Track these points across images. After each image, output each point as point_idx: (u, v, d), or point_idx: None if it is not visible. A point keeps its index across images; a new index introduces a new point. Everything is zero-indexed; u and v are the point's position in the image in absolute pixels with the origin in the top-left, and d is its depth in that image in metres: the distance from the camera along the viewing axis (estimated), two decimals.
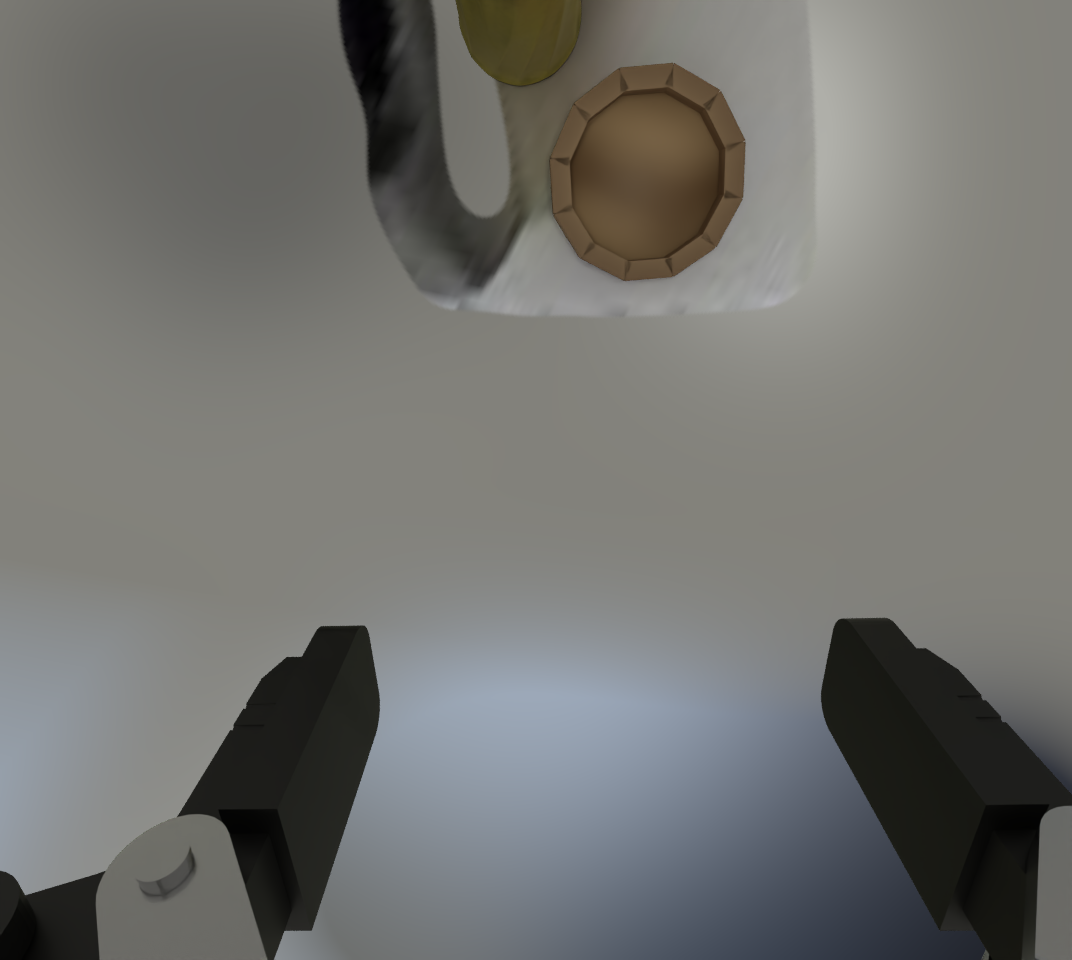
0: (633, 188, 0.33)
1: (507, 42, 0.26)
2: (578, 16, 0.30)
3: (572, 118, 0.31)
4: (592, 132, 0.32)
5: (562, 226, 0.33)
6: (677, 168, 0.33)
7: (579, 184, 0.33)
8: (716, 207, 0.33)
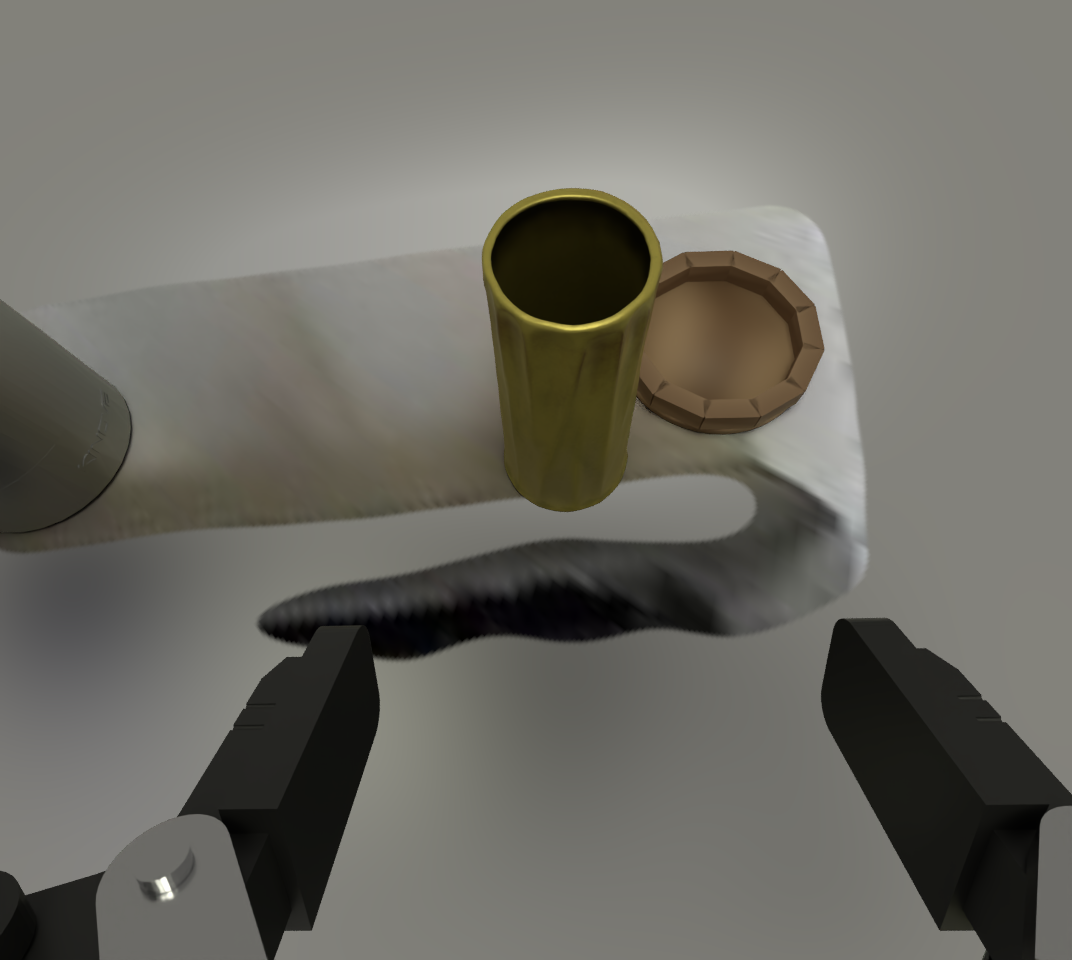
0: (722, 352, 0.32)
1: (634, 404, 0.25)
2: None
3: (666, 395, 0.30)
4: None
5: (772, 408, 0.29)
6: (702, 314, 0.33)
7: None
8: (743, 272, 0.32)
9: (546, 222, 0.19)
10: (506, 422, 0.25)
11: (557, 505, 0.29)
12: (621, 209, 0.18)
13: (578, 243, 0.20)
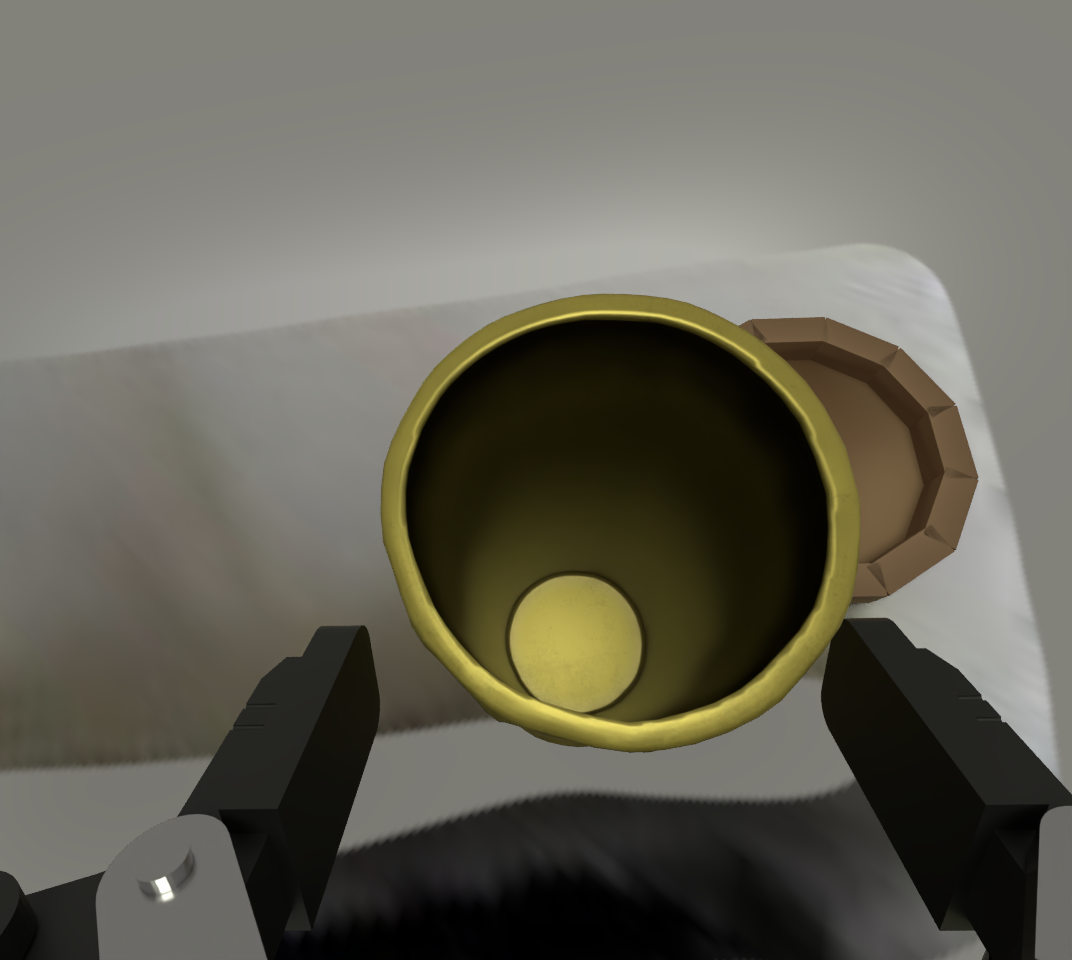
0: None
1: None
2: None
3: None
4: None
5: (906, 580, 0.18)
6: None
7: None
8: (840, 350, 0.22)
9: (549, 362, 0.08)
10: None
11: (565, 741, 0.18)
12: (738, 351, 0.07)
13: (618, 394, 0.09)
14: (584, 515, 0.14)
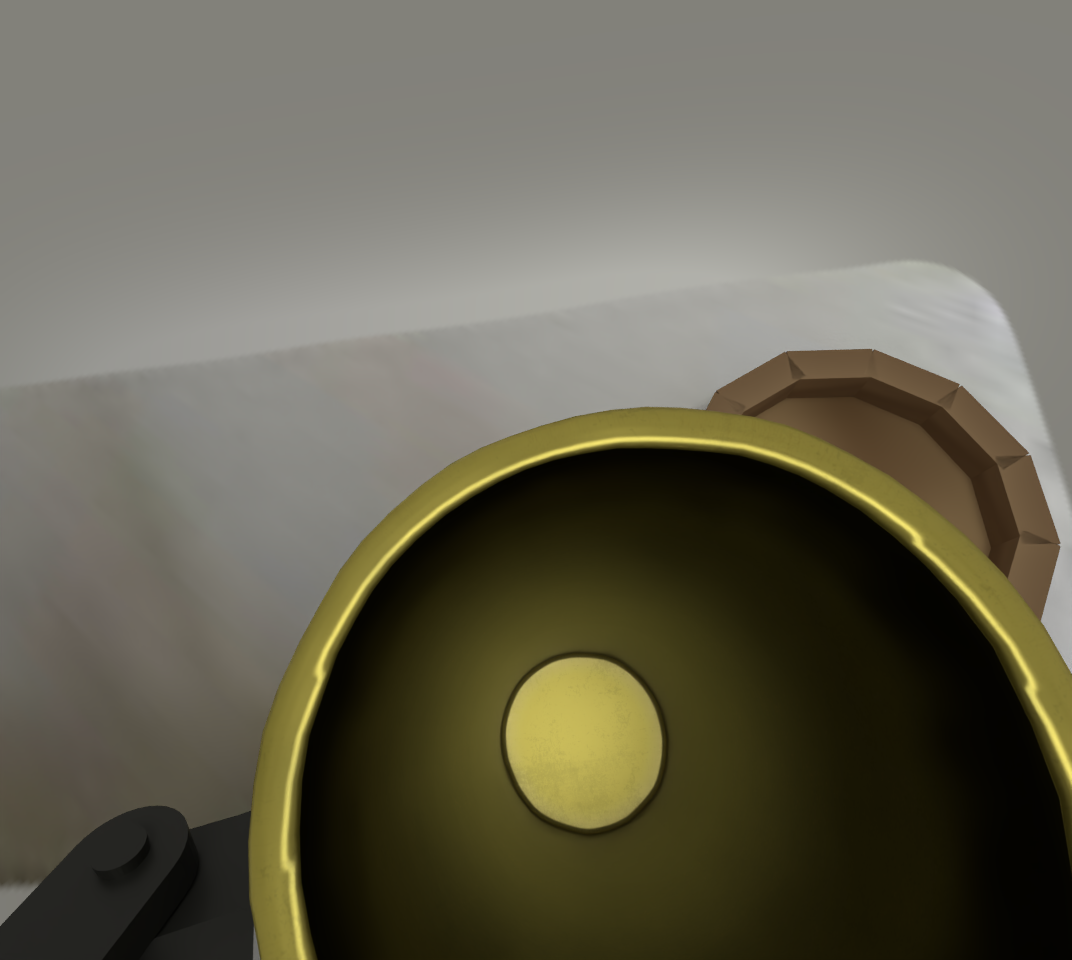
0: None
1: None
2: None
3: None
4: None
5: None
6: None
7: None
8: (891, 388, 0.19)
9: (556, 497, 0.05)
10: None
11: None
12: (879, 511, 0.04)
13: (657, 526, 0.06)
14: (597, 618, 0.12)
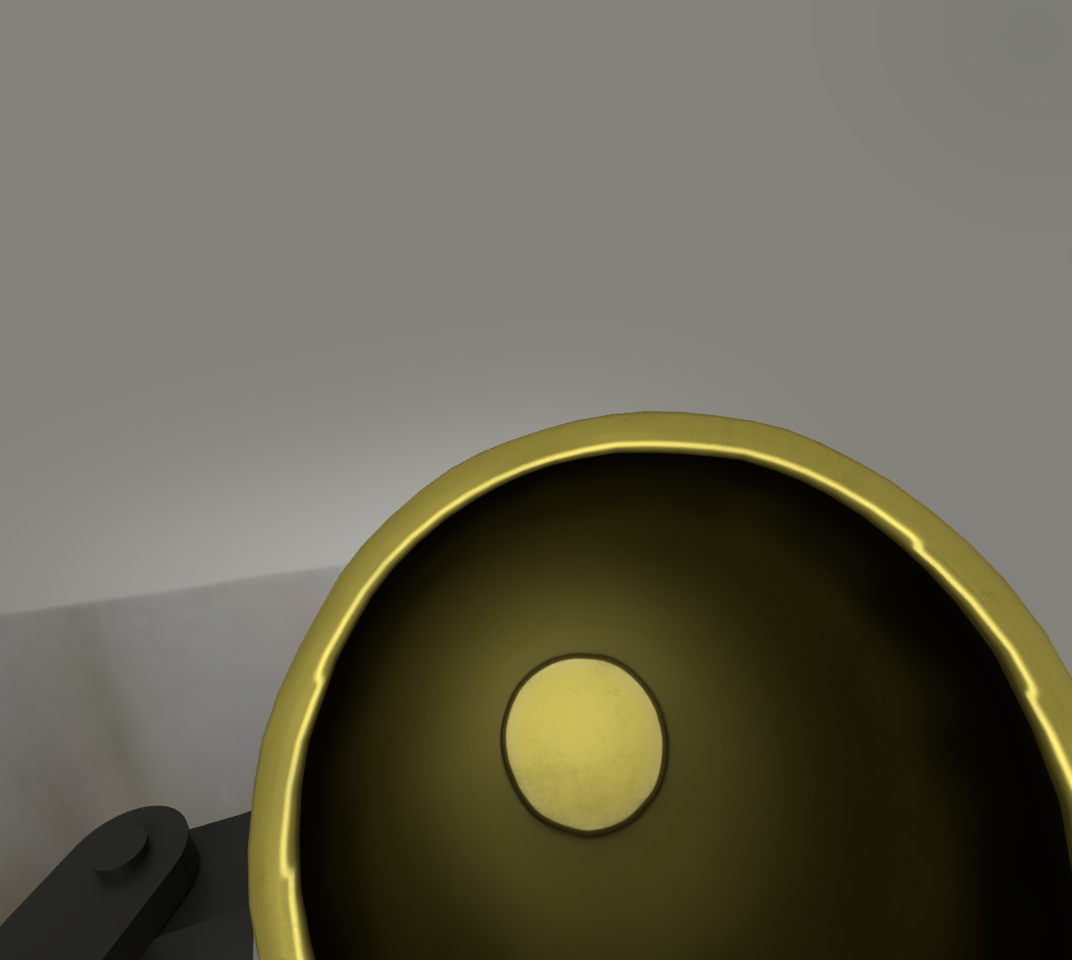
0: None
1: None
2: None
3: None
4: None
5: None
6: None
7: None
8: None
9: (556, 500, 0.05)
10: None
11: None
12: (880, 517, 0.04)
13: (657, 529, 0.06)
14: (597, 620, 0.11)
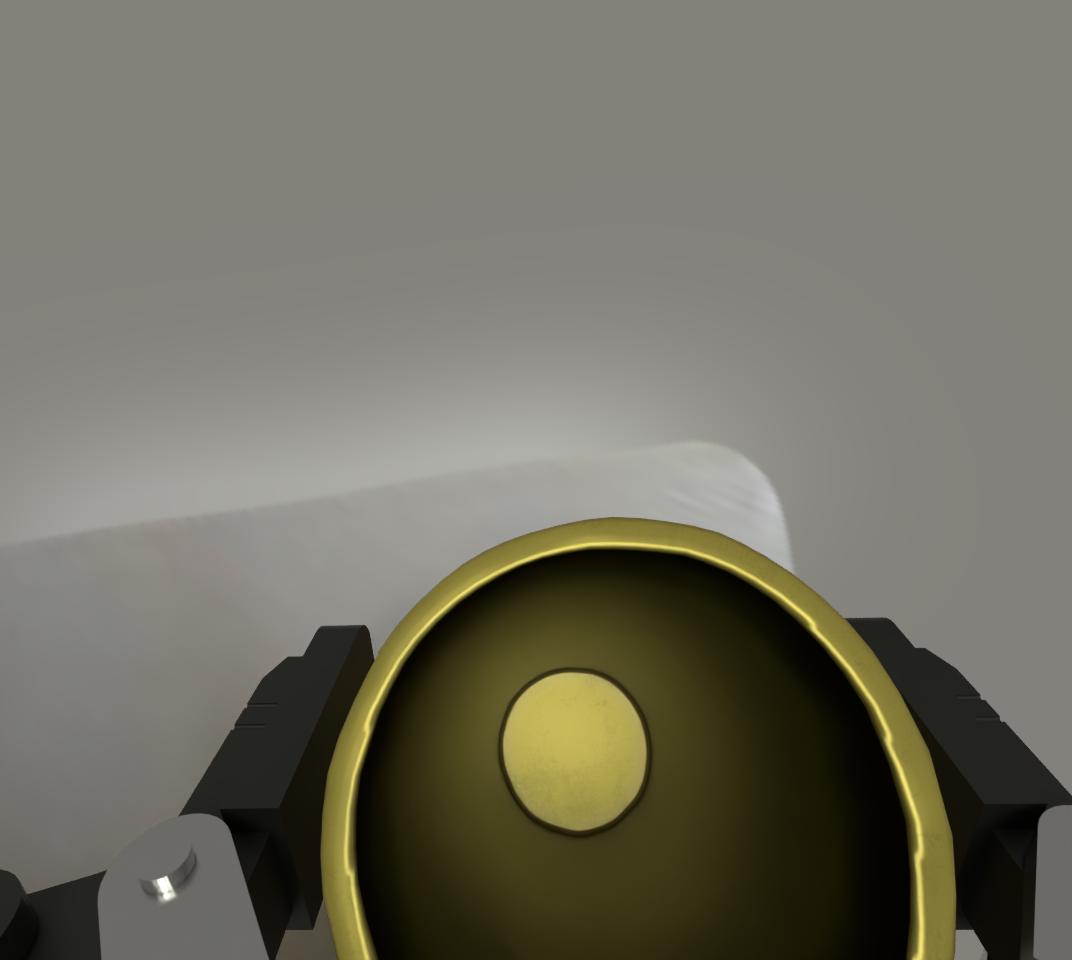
0: None
1: None
2: None
3: None
4: None
5: None
6: None
7: None
8: None
9: (545, 575, 0.07)
10: None
11: None
12: (785, 603, 0.06)
13: (627, 590, 0.08)
14: (585, 645, 0.13)
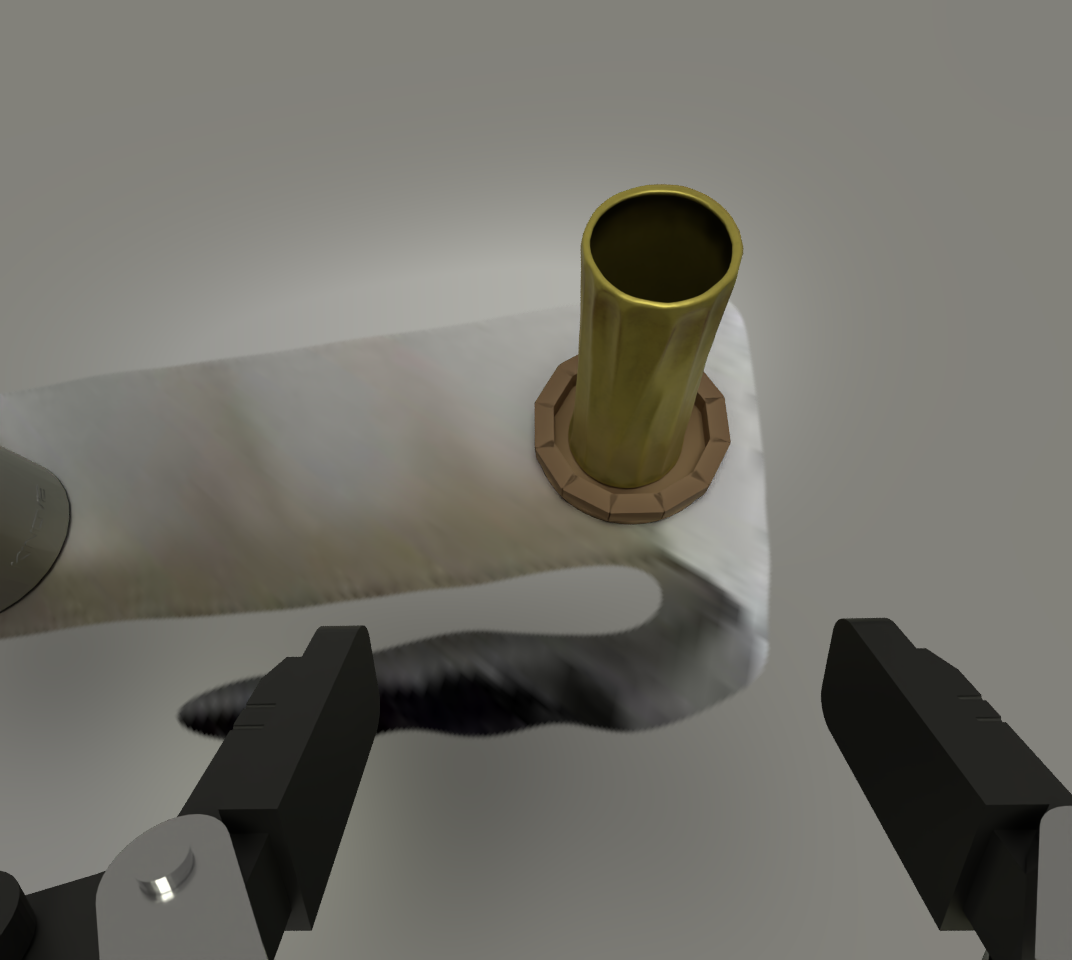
0: None
1: (699, 383, 0.27)
2: None
3: (574, 490, 0.31)
4: (584, 479, 0.32)
5: (676, 503, 0.30)
6: None
7: (631, 492, 0.32)
8: None
9: (633, 215, 0.22)
10: (580, 401, 0.28)
11: (621, 481, 0.31)
12: (703, 201, 0.20)
13: (658, 234, 0.23)
14: None
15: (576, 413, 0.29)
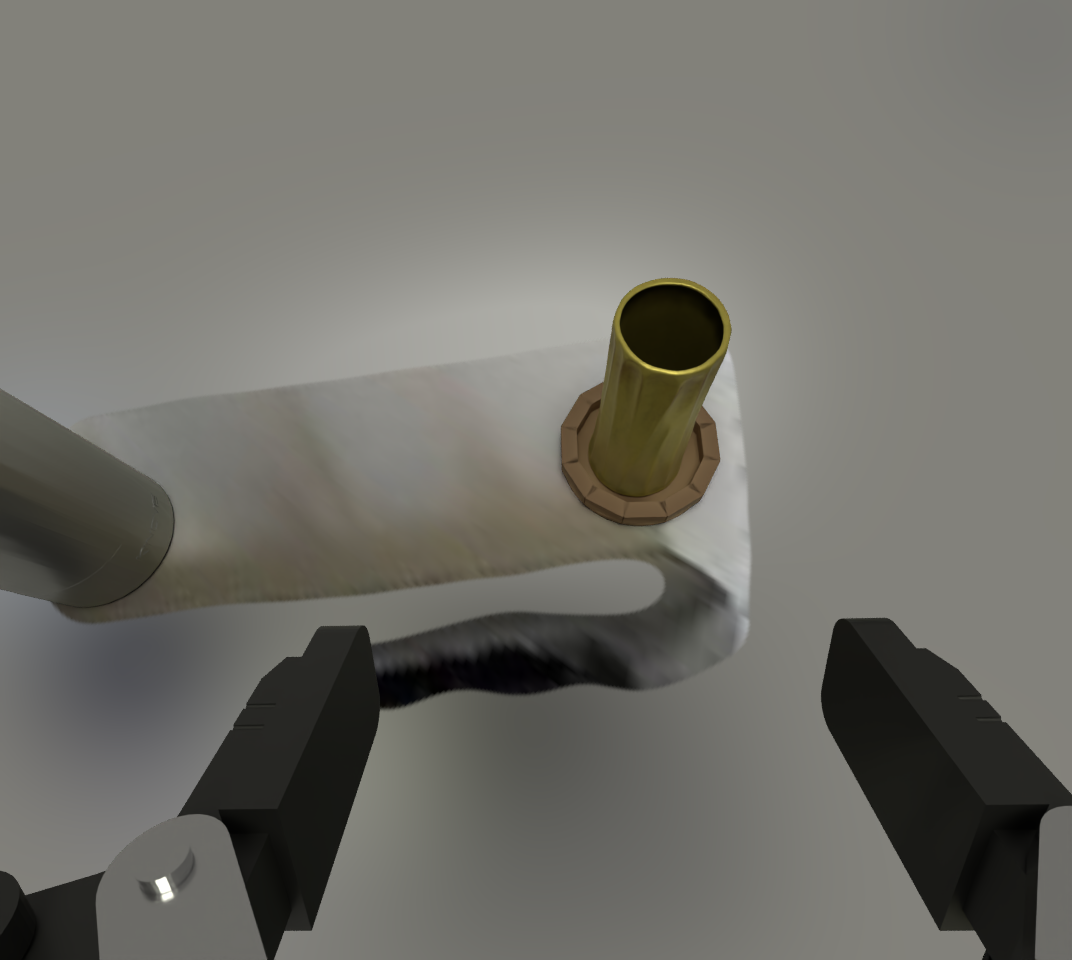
0: None
1: (696, 416, 0.34)
2: None
3: (595, 498, 0.38)
4: (601, 489, 0.40)
5: (677, 509, 0.38)
6: None
7: (640, 500, 0.39)
8: None
9: (649, 298, 0.29)
10: (603, 430, 0.35)
11: (632, 491, 0.39)
12: (702, 292, 0.28)
13: (667, 310, 0.30)
14: None
15: (598, 438, 0.36)
